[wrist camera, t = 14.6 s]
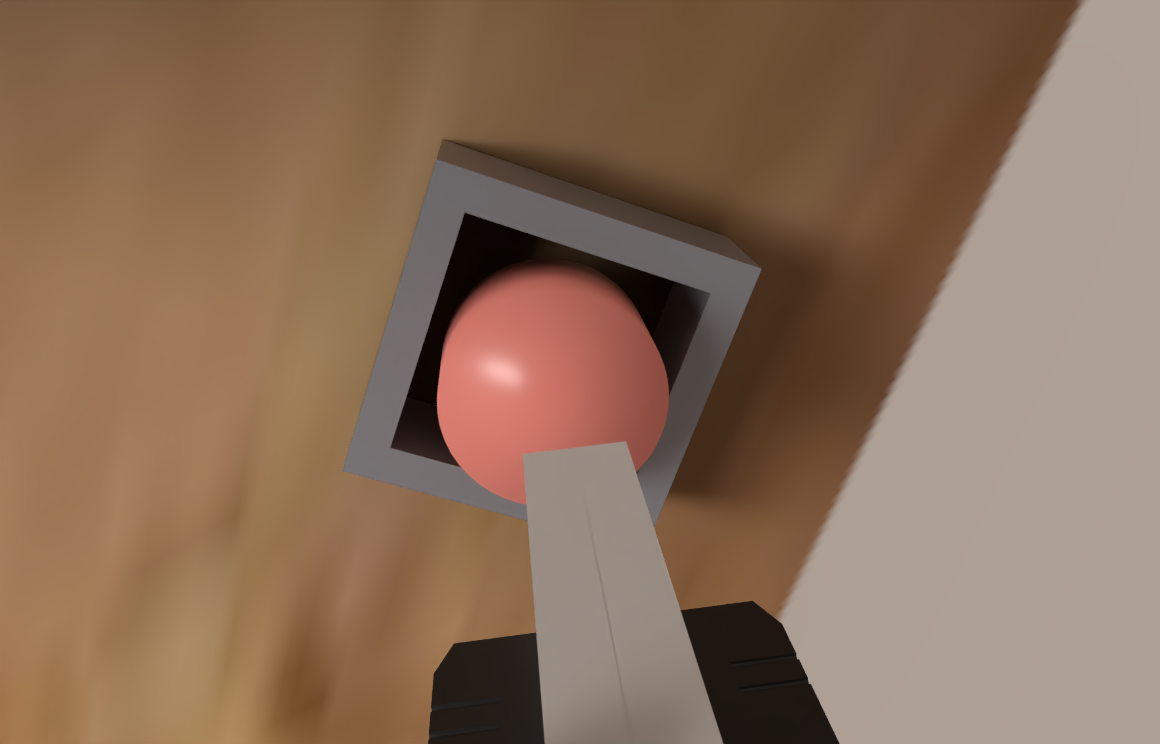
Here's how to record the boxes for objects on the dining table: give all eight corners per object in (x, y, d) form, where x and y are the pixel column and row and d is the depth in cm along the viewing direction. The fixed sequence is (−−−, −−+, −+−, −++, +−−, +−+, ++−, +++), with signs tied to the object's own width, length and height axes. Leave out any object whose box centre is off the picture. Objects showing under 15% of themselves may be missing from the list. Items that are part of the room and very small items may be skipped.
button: (607, 476, 22) (621, 530, 20) (416, 422, 21) (408, 472, 19) (678, 295, 21) (702, 331, 19) (478, 230, 20) (477, 259, 18)
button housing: (625, 490, 25) (643, 551, 22) (359, 415, 24) (342, 470, 21) (727, 236, 23) (761, 268, 20) (442, 139, 22) (436, 159, 19)
